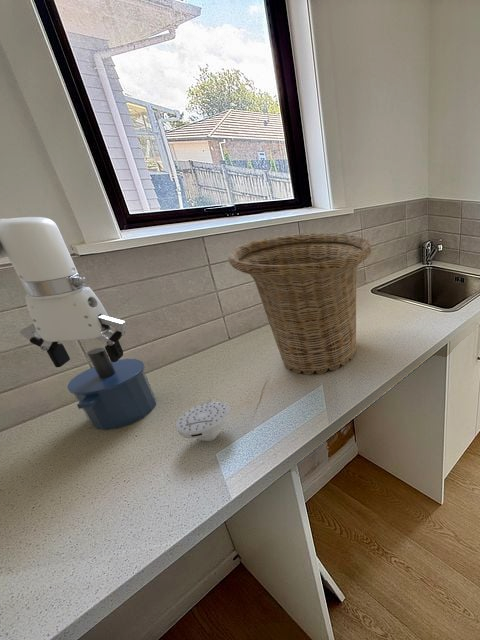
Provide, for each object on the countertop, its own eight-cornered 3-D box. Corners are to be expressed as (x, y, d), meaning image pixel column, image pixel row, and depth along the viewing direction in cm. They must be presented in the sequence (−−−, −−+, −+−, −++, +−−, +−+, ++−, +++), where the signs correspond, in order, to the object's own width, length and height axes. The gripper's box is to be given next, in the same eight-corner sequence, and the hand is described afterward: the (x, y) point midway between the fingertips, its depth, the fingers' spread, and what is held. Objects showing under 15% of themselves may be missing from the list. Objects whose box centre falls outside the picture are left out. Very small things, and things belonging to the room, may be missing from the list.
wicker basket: (315, 408, 80) (291, 275, 66) (231, 365, 97) (197, 251, 82) (400, 345, 107) (397, 241, 92) (323, 320, 123) (310, 228, 109)
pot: (71, 445, 70) (46, 405, 65) (118, 394, 84) (101, 359, 80) (136, 435, 72) (116, 396, 67) (170, 388, 87) (156, 353, 82)
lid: (53, 401, 67) (35, 371, 64) (94, 366, 78) (80, 339, 75) (127, 392, 70) (113, 363, 67) (156, 360, 81) (145, 333, 78)
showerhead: (233, 393, 74) (221, 424, 65) (241, 418, 77) (230, 451, 68) (185, 400, 71) (165, 433, 63) (195, 426, 75) (178, 461, 66)
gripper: (119, 276, 69) (146, 348, 76) (14, 281, 65) (54, 356, 72) (95, 289, 62) (128, 366, 70) (-22, 294, 58) (26, 376, 66)
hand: (91, 361), depth 71 cm, fingers open, 9 cm apart
